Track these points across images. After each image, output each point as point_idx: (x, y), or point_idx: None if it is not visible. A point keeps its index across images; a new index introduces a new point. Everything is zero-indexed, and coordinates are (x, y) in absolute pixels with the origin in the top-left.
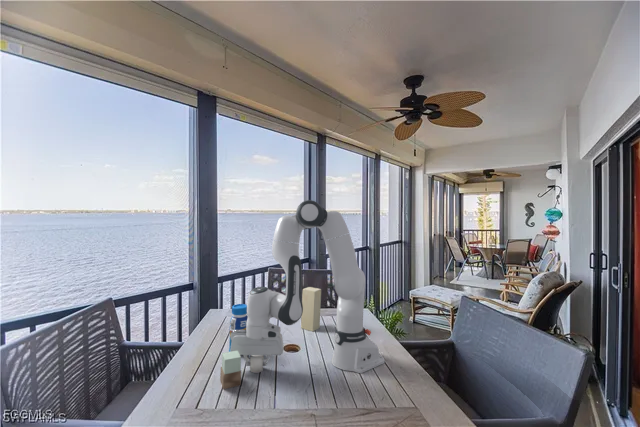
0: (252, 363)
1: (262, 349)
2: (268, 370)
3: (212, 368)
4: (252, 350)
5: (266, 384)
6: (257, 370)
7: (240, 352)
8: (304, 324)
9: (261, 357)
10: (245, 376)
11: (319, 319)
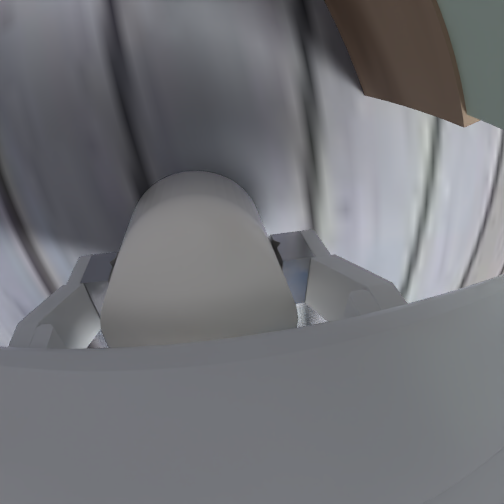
0: (240, 226)
1: (55, 451)
2: (80, 234)
3: (489, 218)
4: (304, 417)
5: (34, 2)
6: (166, 186)
7: (482, 314)
8: None
9: (124, 329)
10: (283, 95)
11: None
